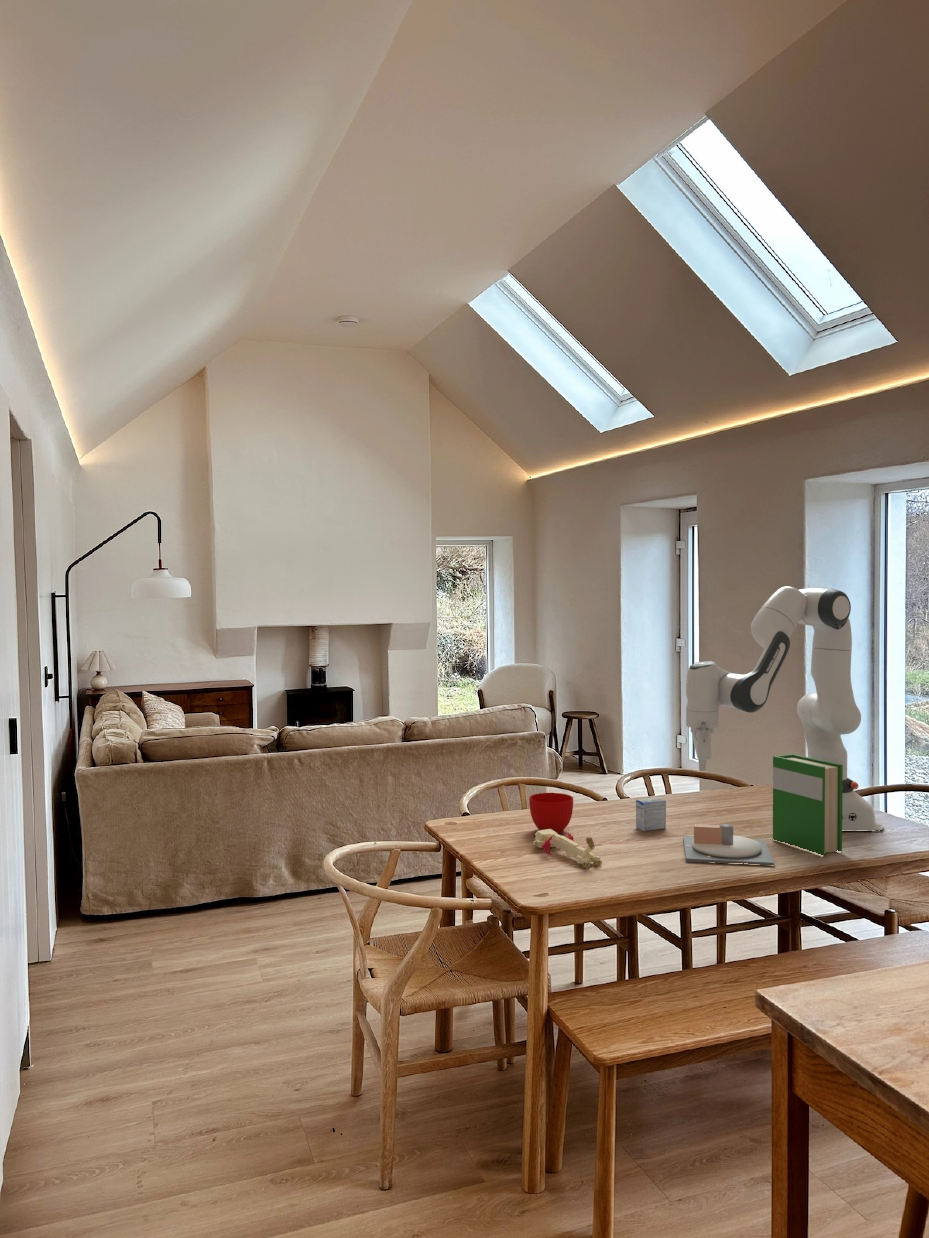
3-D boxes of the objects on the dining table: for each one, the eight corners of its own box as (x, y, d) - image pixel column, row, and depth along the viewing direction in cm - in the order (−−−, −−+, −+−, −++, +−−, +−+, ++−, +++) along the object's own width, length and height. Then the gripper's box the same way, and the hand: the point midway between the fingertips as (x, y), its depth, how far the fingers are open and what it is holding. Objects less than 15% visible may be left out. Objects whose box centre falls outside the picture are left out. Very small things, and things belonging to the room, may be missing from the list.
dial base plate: (763, 842, 256) (763, 838, 256) (774, 866, 235) (774, 861, 235) (683, 838, 261) (683, 834, 261) (686, 862, 239) (686, 857, 239)
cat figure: (607, 869, 238) (552, 839, 260) (609, 837, 237) (553, 809, 259) (576, 876, 233) (523, 844, 255) (578, 842, 232) (524, 813, 254)
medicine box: (657, 825, 276) (657, 796, 275) (666, 828, 272) (666, 799, 271) (635, 828, 273) (635, 799, 272) (643, 831, 269) (643, 802, 268)
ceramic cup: (572, 822, 280) (572, 789, 280) (573, 837, 263) (573, 803, 263) (530, 821, 281) (530, 789, 281) (528, 836, 264) (528, 802, 264)
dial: (757, 840, 255) (757, 818, 254) (765, 859, 237) (765, 836, 237) (690, 837, 258) (690, 815, 258) (693, 855, 241) (693, 833, 240)
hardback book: (841, 853, 246) (842, 764, 245) (821, 857, 243) (822, 767, 242) (792, 837, 262) (792, 753, 261) (772, 840, 258) (773, 756, 258)
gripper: (716, 726, 243) (716, 777, 244) (711, 715, 263) (711, 763, 264) (692, 725, 244) (692, 777, 245) (689, 714, 264) (689, 762, 265)
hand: (702, 769), depth 254 cm, fingers closed
